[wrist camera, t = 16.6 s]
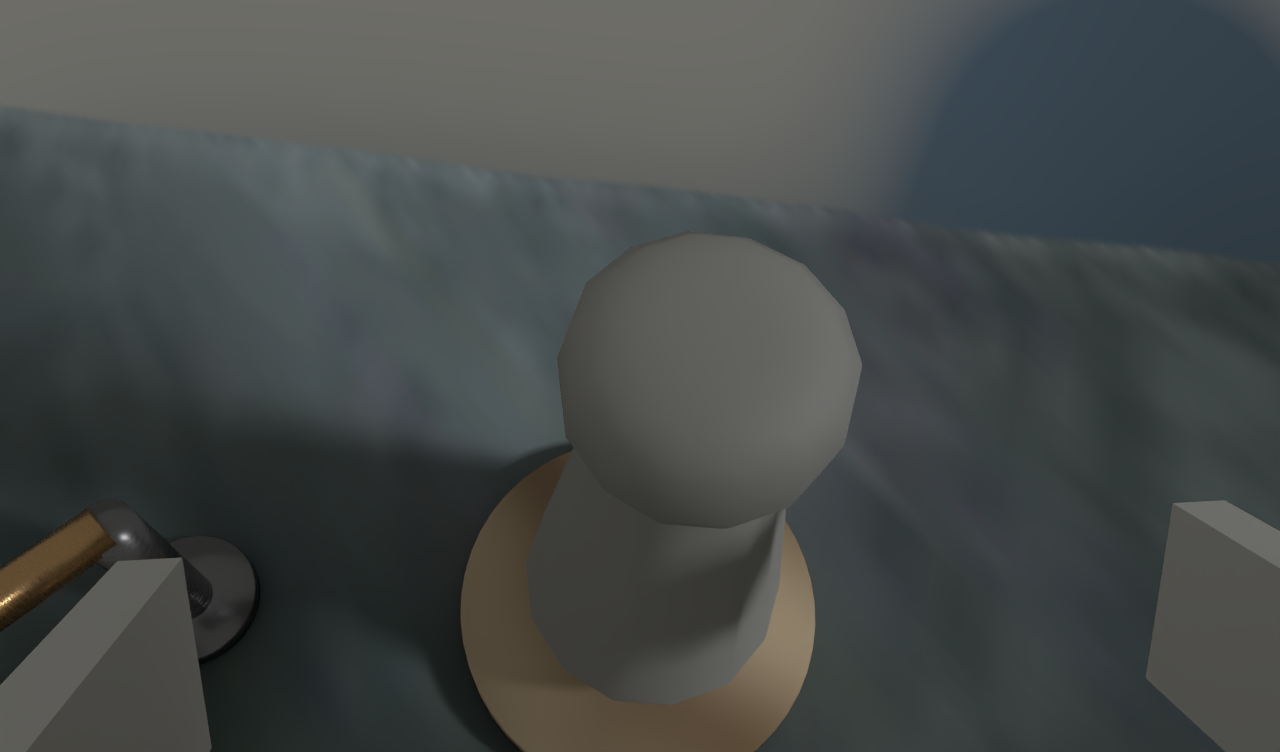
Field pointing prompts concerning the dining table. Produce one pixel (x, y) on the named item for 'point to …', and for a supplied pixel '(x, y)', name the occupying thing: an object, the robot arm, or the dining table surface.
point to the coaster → (576, 712)
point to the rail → (118, 533)
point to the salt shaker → (685, 460)
